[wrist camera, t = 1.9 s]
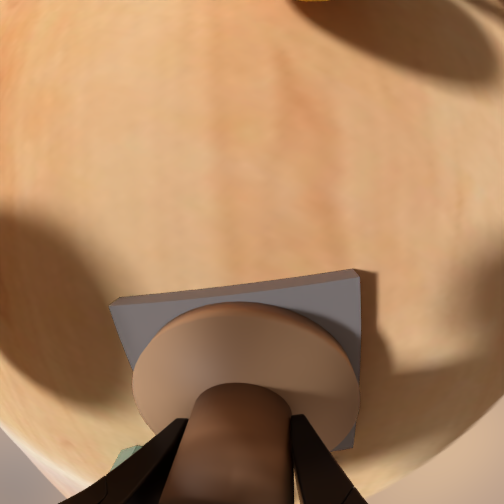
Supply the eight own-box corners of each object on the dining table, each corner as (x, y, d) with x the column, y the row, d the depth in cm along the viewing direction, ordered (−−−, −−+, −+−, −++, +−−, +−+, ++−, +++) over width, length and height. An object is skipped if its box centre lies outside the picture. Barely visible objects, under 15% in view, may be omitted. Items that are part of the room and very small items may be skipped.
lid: (353, 284, 8) (431, 404, 3) (349, 446, 9) (366, 541, 5) (115, 310, 9) (19, 399, 4) (179, 453, 10) (149, 538, 5)
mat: (352, 268, 8) (359, 276, 8) (350, 435, 10) (353, 447, 9) (119, 297, 9) (108, 306, 9) (180, 444, 11) (176, 455, 10)
